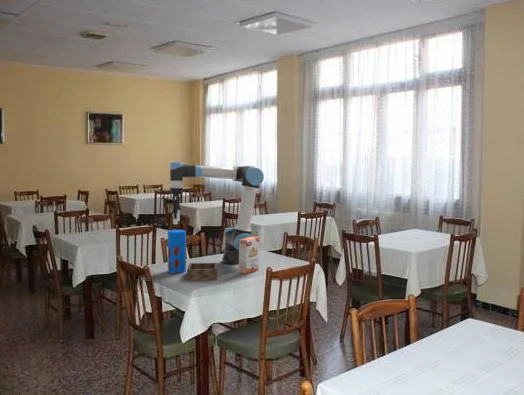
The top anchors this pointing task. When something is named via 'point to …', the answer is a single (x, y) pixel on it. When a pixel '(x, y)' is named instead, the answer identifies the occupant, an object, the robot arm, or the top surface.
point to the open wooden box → (202, 271)
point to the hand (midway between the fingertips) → (176, 222)
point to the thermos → (177, 251)
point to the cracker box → (248, 255)
